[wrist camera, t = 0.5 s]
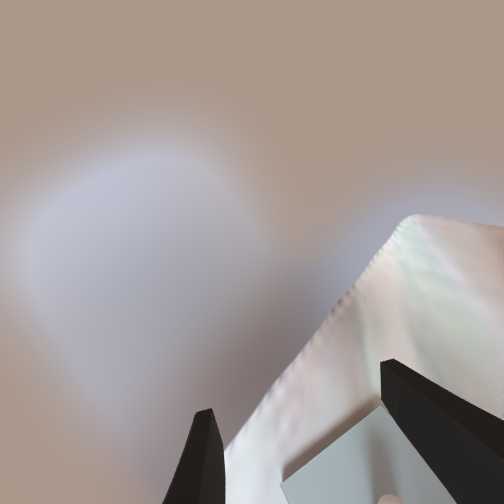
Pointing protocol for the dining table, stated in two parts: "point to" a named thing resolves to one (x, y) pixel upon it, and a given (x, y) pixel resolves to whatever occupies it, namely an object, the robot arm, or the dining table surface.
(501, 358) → the dining table surface
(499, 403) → the dining table surface
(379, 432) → the stand
